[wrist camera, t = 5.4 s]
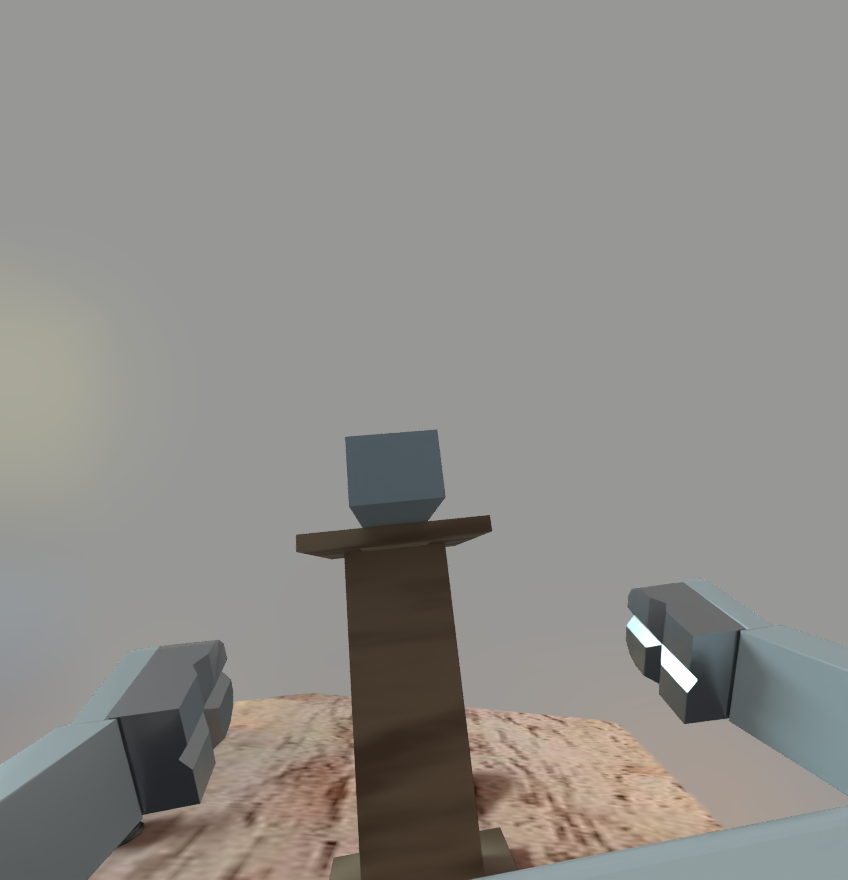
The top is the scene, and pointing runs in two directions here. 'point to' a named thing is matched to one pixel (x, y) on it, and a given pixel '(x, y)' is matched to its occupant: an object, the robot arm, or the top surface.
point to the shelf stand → (409, 706)
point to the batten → (394, 477)
